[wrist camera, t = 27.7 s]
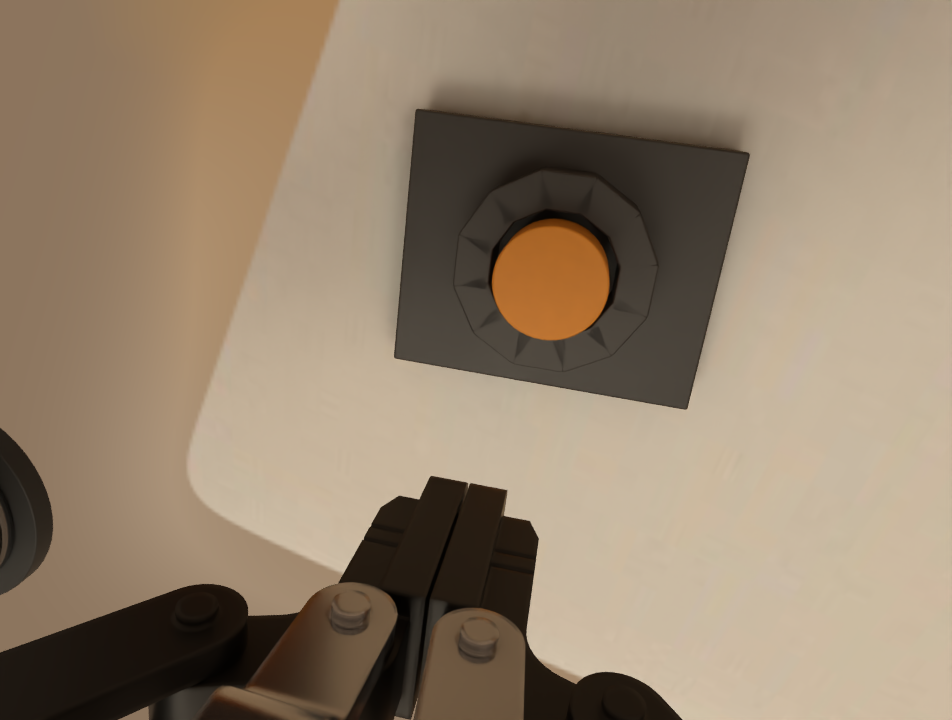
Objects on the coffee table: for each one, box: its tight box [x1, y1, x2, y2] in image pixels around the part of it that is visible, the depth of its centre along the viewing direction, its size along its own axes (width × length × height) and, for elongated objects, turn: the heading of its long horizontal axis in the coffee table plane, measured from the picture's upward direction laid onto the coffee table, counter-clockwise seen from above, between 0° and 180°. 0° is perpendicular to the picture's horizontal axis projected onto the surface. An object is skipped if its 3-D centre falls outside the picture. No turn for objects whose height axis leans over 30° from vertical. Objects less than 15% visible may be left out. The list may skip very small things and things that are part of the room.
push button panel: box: [394, 109, 750, 409], centre depth 24 cm, size 11×9×4 cm
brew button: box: [492, 218, 610, 340], centre depth 22 cm, size 4×4×2 cm
